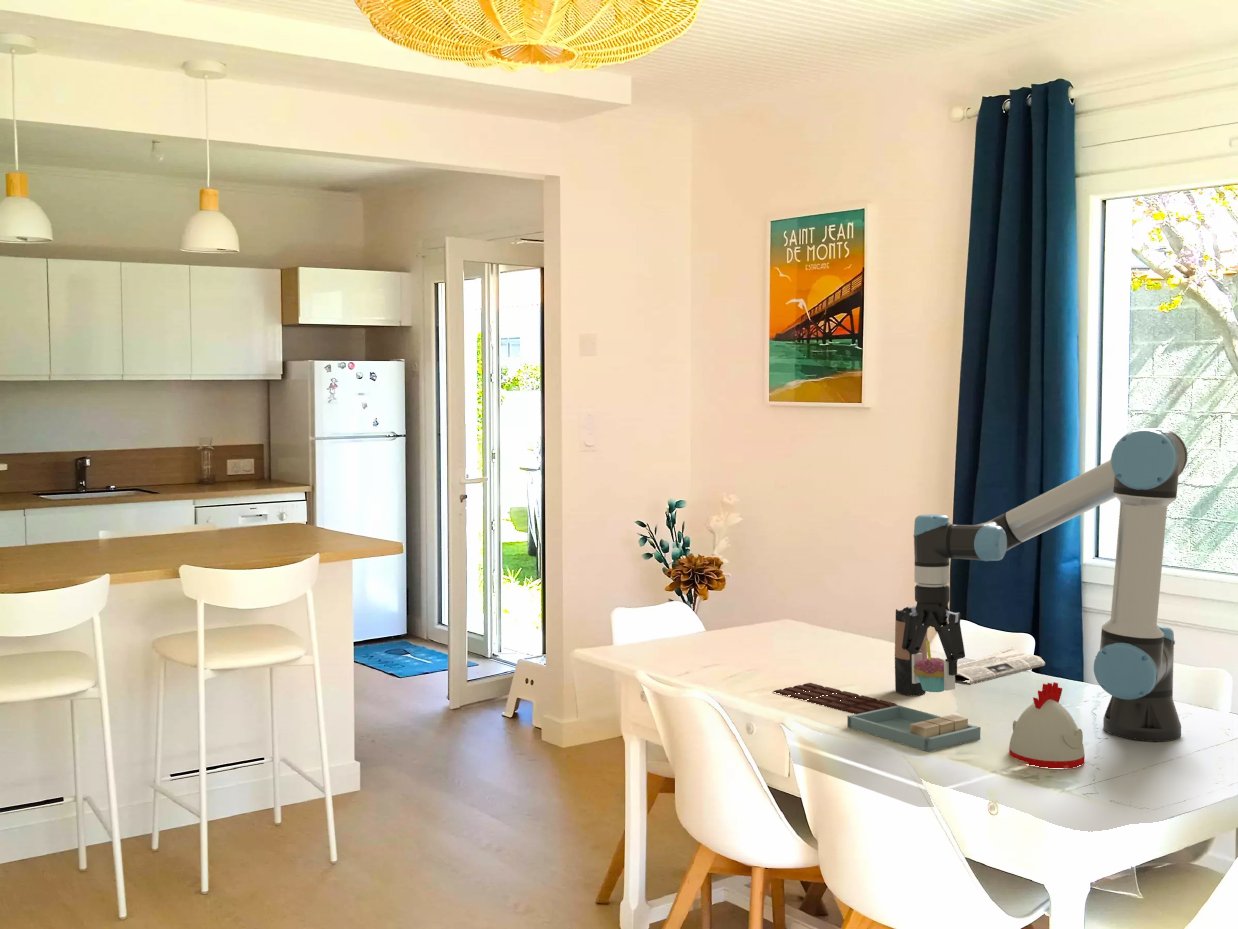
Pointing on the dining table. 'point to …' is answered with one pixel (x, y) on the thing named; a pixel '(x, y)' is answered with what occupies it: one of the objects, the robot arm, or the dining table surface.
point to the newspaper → (998, 665)
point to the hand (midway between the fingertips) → (933, 686)
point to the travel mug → (905, 659)
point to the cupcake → (930, 672)
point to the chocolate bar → (835, 698)
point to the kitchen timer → (1047, 733)
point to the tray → (908, 728)
